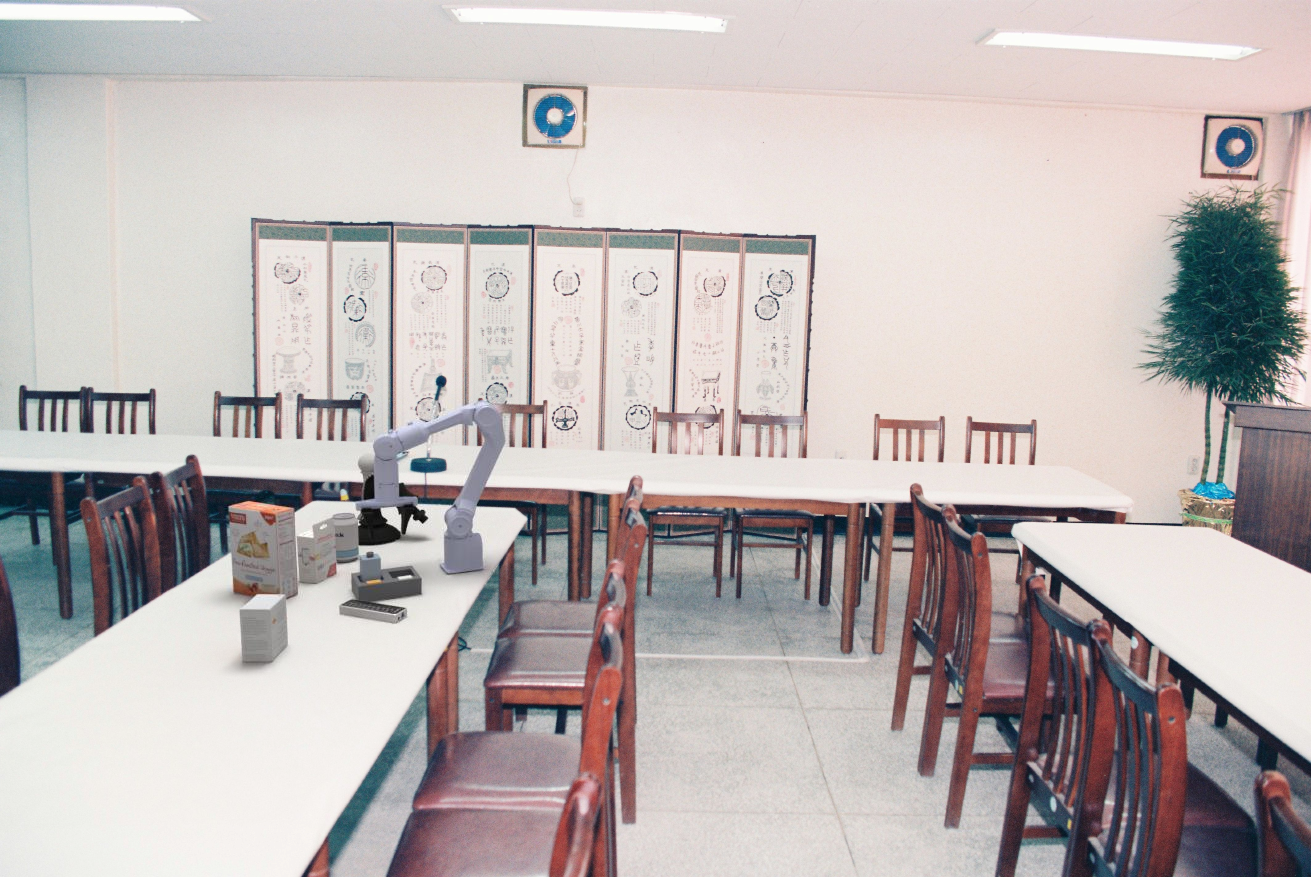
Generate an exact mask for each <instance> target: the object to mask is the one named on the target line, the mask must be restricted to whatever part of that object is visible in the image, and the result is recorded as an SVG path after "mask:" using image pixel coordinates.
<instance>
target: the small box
mask: <svg viewBox="0 0 1311 877" xmlns="http://www.w3.org/2000/svg"><path fill="white" fill-rule="evenodd" d="M287 610H288V609H287V599H286V595H281V594H257V595H256V596H253V597H252V598H250V600H249V601H248V602H246V603H245V604H244V605H243V606H242V607H241V608H239V622H240V623H239V625H240V639H241V641H240V643H241V655H242V656H241V658H242V663H256V662H258V663H259V662H260V663H262V662H263V663H270V662H271V663H272V662H273V661H274V660H275V659H276V658H277V656H279V654H280V653H281V652H282V651H283V650H284V649H285V648H286V647H287V646H288V645H289V640H288V639H289V637H288V635H289V634H288V615H287V613H288V612H287Z"/></svg>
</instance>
